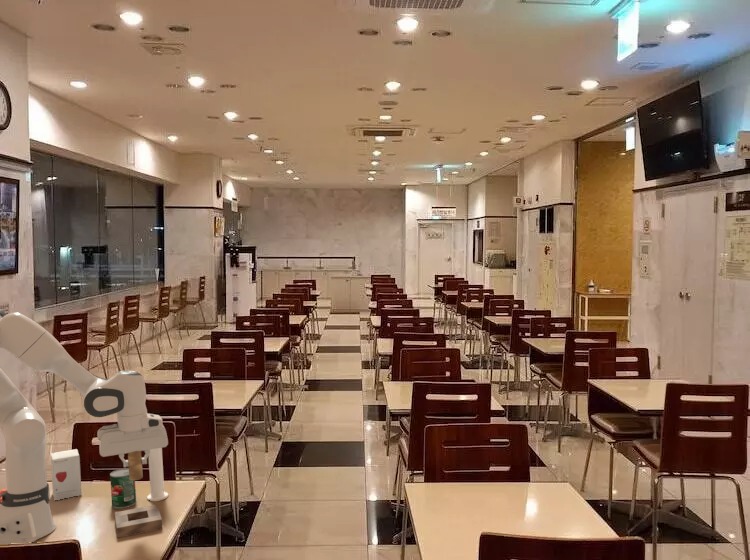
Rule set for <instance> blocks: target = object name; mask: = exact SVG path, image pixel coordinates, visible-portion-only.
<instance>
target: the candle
mask: <svg viewBox="0 0 750 560" xmlns="http://www.w3.org/2000/svg"><path fill="white" fill-rule="evenodd" d="M163 462H164V461H163V448H157V449H150V454H149V456H148V471H149V489H150V490H149V491H150V493H149V494H148V495H147V497H146V500H147V499H148V500H147V501H149V500H150V501H149V502H159V501H163V500H165V499H167V498H168V497H169V492H167V491H165V482H164V481H165V480H164V465H163Z"/></svg>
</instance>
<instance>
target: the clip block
mask: <svg viewBox="0 0 750 560" xmlns="http://www.w3.org/2000/svg"><path fill="white" fill-rule="evenodd" d="M114 519H115V520H114V521H115V529H116V536H117V538H122V537H127V536H128V537H129V536H132V535H138V534H142V533H147V532H148V533H149V532H152V531H157V530H162V529H163V520H162V519H163V518H162V516H161V512H160V508H159V506H158V504H154V505H153V504H152V505H147V506H142V507H138V508H137V507H136V508H131V509H125V510H122V511H115V512H114Z"/></svg>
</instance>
